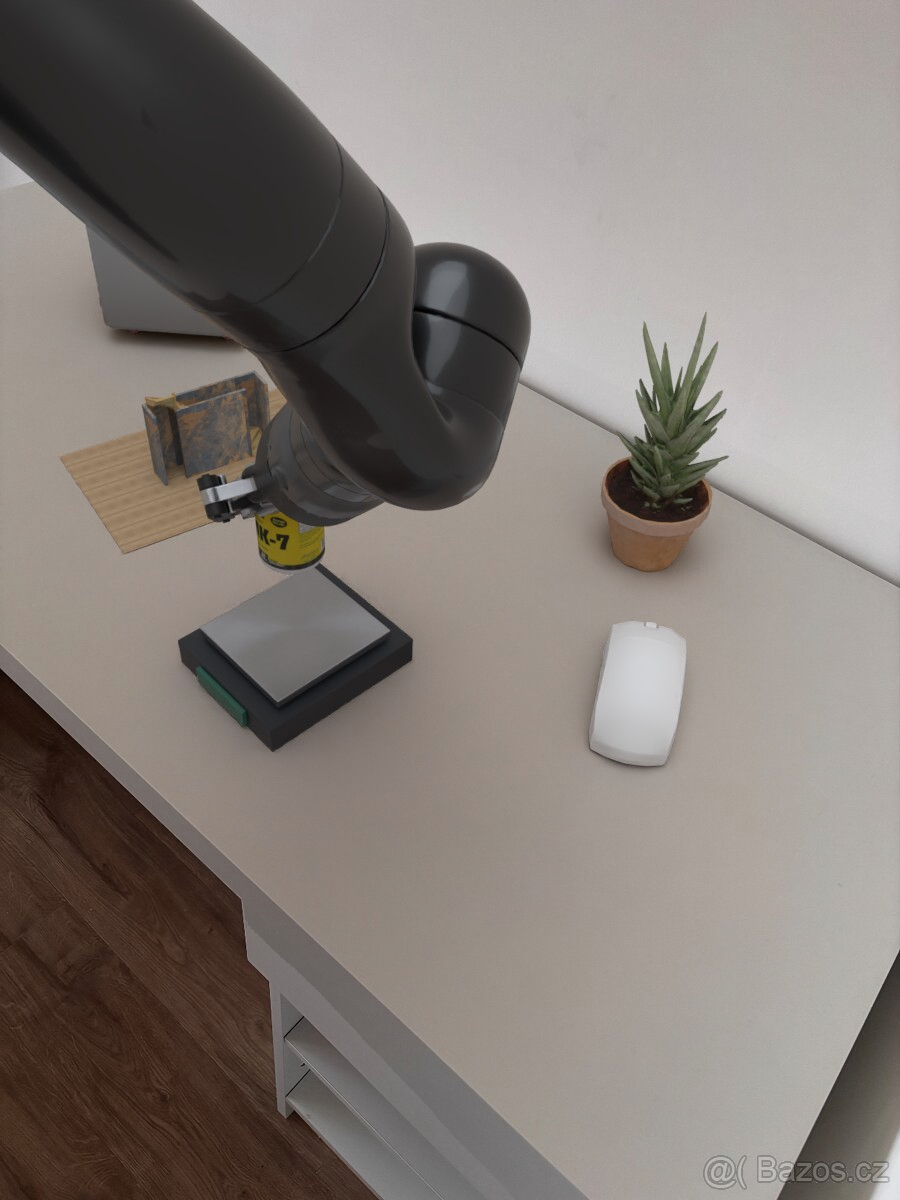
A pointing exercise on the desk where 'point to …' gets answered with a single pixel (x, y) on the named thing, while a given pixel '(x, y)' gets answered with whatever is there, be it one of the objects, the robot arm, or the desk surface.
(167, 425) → the ruin model on sheet
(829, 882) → the desk surface
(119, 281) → the alarm clock
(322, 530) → the supplement bottle
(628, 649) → the computer mouse
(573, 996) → the desk surface
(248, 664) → the scale pan
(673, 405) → the potted plant
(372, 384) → the robot arm
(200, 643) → the scale
